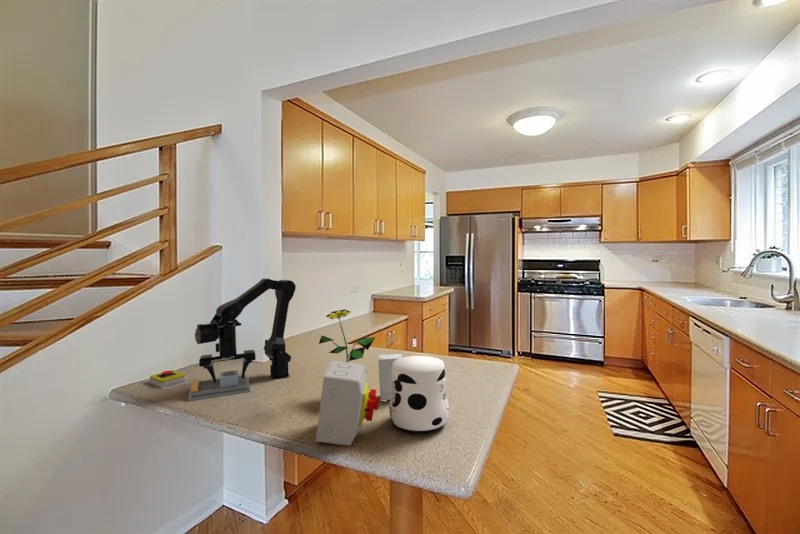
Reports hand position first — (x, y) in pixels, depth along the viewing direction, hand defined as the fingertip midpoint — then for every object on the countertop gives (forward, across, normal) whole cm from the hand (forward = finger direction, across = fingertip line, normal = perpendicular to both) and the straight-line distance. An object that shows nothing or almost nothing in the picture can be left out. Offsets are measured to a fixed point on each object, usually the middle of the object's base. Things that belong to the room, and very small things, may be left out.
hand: (229, 380), depth 141 cm
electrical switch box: (+4, -31, +52) cm, 61 cm away
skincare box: (+4, -51, +34) cm, 62 cm away
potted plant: (+4, -37, +29) cm, 47 cm away
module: (+2, 0, 0) cm, 2 cm away
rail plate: (+3, +3, -1) cm, 5 cm away
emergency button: (+4, +22, -20) cm, 30 cm away
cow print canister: (+4, -51, +55) cm, 75 cm away
